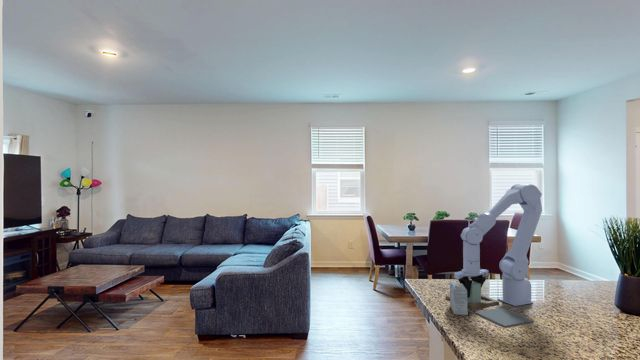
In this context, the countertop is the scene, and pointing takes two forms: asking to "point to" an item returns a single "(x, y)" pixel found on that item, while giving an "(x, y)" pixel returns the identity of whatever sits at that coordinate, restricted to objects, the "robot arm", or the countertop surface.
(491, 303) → the holder frame
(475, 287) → the sage block
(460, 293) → the medicine box
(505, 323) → the rubber mat
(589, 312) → the countertop surface
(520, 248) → the robot arm
